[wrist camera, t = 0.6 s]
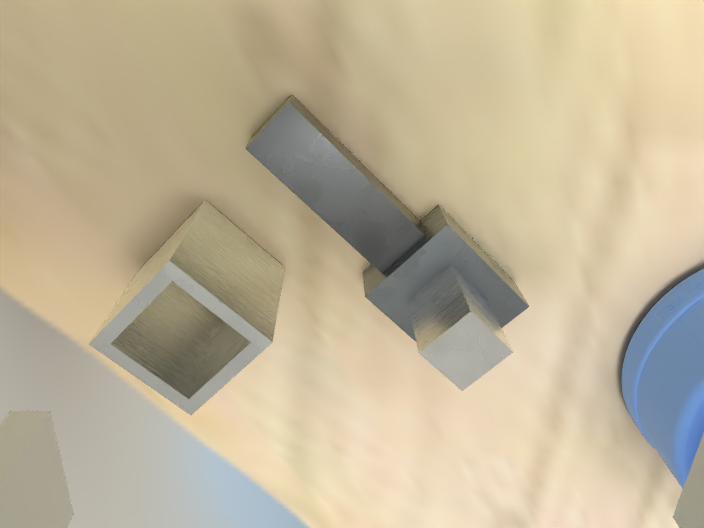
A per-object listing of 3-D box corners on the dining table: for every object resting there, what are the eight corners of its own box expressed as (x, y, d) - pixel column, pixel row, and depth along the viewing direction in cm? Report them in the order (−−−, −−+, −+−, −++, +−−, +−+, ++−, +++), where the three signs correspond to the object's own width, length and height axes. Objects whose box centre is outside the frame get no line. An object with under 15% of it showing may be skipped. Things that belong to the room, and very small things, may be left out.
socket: (139, 268, 35) (88, 344, 27) (205, 199, 33) (169, 260, 26) (219, 330, 37) (190, 415, 29) (285, 267, 35) (272, 342, 28)
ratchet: (233, 156, 32) (204, 206, 25) (310, 74, 30) (303, 103, 23) (439, 342, 37) (465, 427, 30) (514, 282, 36) (560, 357, 28)
